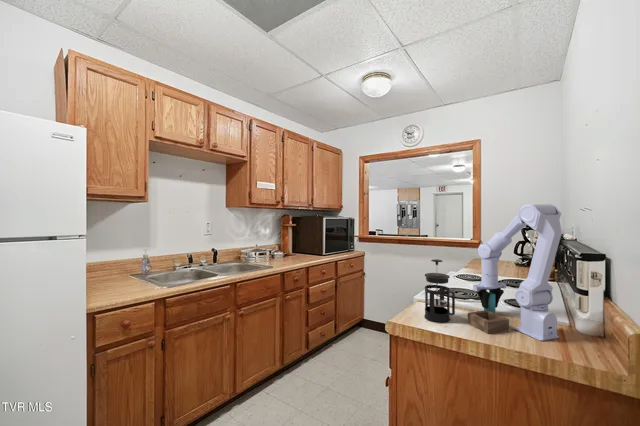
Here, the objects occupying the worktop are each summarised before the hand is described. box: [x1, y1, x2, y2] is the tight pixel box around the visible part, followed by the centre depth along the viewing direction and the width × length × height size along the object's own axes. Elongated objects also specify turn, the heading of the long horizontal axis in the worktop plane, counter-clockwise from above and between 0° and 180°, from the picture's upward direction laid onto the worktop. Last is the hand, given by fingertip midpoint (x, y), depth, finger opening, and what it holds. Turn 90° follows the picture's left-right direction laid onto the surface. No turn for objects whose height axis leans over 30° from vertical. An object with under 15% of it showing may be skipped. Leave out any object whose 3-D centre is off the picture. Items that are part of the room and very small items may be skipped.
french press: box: [423, 258, 456, 324], centre depth 109 cm, size 12×9×23 cm
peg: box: [483, 291, 497, 314], centre depth 113 cm, size 4×4×8 cm
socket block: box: [467, 310, 510, 335], centre depth 101 cm, size 9×9×4 cm
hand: (489, 307), depth 113 cm, fingers closed on peg, 4 cm apart
